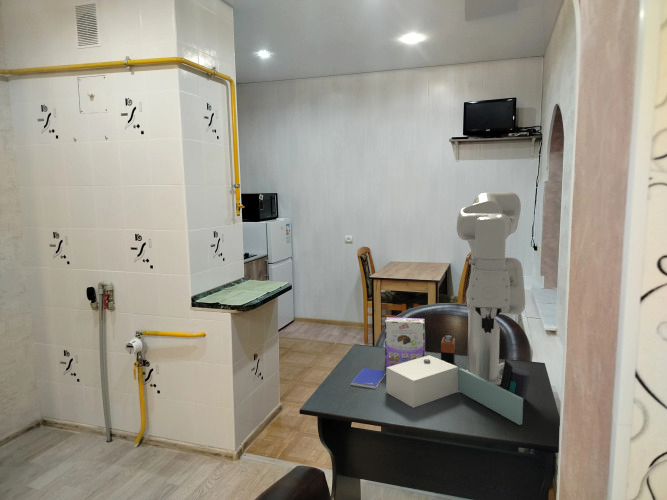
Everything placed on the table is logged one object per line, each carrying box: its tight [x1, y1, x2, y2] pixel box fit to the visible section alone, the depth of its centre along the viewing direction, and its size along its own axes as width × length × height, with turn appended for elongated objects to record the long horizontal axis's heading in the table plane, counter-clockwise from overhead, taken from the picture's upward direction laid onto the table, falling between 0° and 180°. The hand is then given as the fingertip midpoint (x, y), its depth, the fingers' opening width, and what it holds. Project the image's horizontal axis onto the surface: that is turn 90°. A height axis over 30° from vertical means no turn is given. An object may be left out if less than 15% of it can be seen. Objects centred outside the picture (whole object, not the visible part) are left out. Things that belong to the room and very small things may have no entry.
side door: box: [457, 367, 524, 426], centre depth 127 cm, size 24×2×7 cm, turn 26°
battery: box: [440, 334, 456, 365], centre depth 159 cm, size 4×7×10 cm, turn 162°
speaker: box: [499, 359, 531, 402], centre depth 132 cm, size 8×6×10 cm
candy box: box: [384, 316, 426, 367], centre depth 159 cm, size 14×6×16 cm, turn 77°
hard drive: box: [350, 367, 386, 389], centre depth 148 cm, size 2×8×12 cm
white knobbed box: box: [385, 354, 459, 409], centre depth 137 cm, size 19×12×9 cm, turn 123°
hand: (487, 331), depth 121 cm, fingers closed
